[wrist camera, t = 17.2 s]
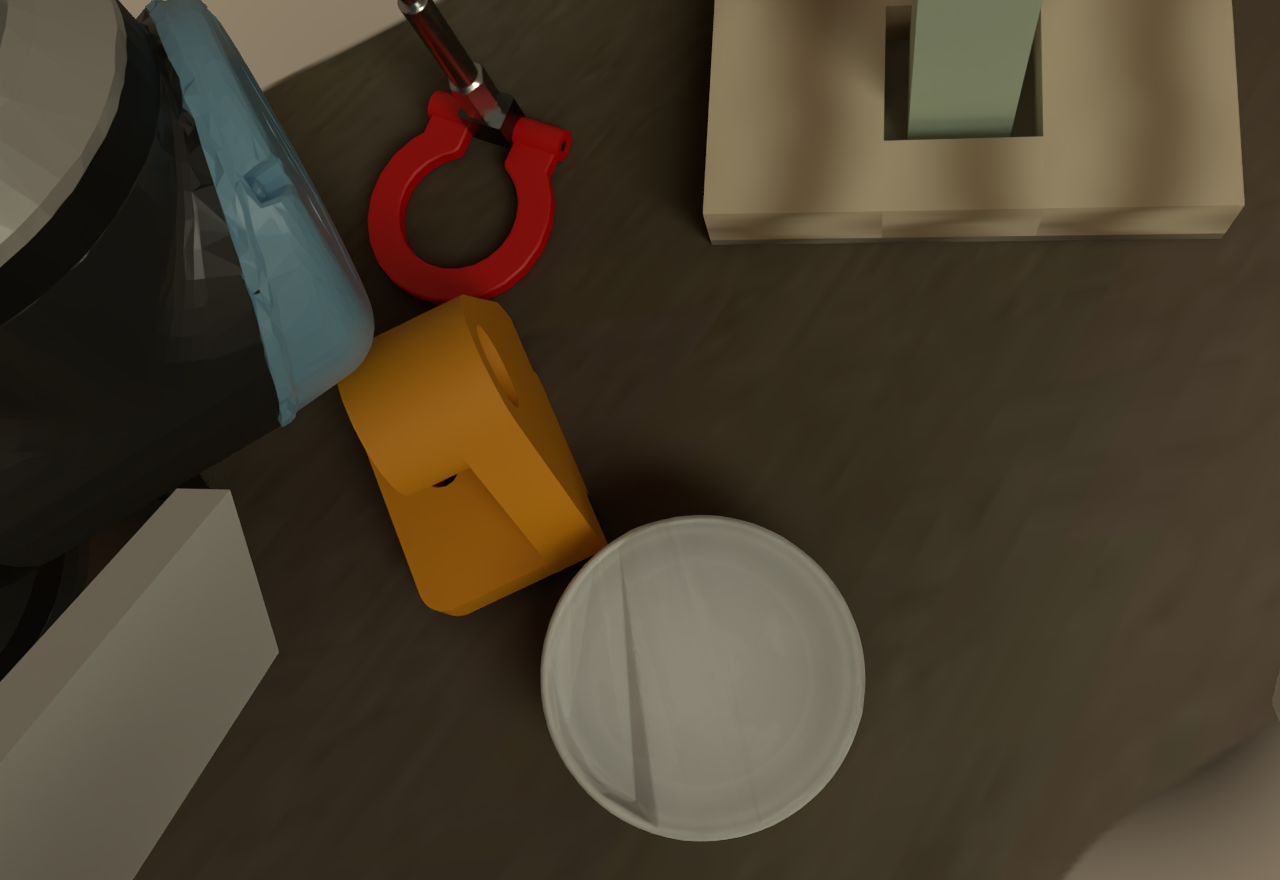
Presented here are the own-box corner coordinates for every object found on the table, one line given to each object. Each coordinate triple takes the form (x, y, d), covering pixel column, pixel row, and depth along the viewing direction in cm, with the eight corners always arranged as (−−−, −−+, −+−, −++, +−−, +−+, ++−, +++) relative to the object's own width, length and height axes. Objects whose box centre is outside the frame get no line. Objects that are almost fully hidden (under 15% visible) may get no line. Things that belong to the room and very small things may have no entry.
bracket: (365, 397, 52) (223, 298, 40) (516, 324, 51) (416, 203, 40) (452, 626, 48) (325, 590, 37) (613, 550, 48) (535, 490, 37)
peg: (906, 148, 50) (920, -34, 38) (907, 62, 50) (921, -141, 39) (1007, 145, 49) (1052, -41, 37) (1006, 58, 50) (1049, -150, 38)
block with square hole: (711, 244, 51) (702, 214, 48) (725, -6, 53) (717, -49, 51) (1221, 238, 47) (1244, 205, 44) (1206, -30, 50) (1226, -78, 47)
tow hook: (511, 335, 52) (595, 144, 53) (391, 219, 39) (504, -26, 40) (347, 274, 54) (431, 93, 55) (186, 147, 42) (298, -83, 43)
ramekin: (517, 662, 48) (476, 651, 43) (730, 480, 48) (715, 448, 43) (697, 898, 44) (676, 916, 39) (926, 699, 45) (933, 692, 40)
